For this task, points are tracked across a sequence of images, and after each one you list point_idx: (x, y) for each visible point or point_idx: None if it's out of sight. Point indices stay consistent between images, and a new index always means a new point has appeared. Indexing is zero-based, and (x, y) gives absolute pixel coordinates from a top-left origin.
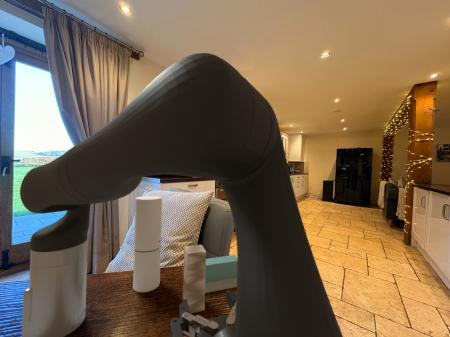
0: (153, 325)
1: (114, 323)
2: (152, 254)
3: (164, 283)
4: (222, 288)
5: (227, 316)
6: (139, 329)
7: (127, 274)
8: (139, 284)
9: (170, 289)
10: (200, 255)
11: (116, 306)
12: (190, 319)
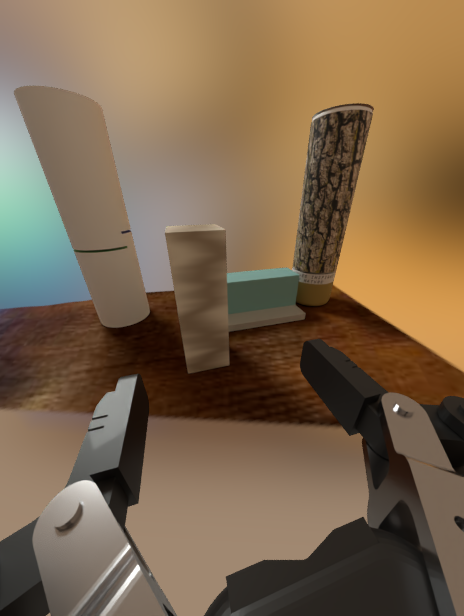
0: None
1: (34, 387)
2: (111, 258)
3: (157, 314)
4: (264, 323)
5: (400, 567)
6: (79, 405)
7: None
8: (104, 315)
9: (166, 323)
10: (209, 241)
11: (56, 352)
12: (71, 599)
